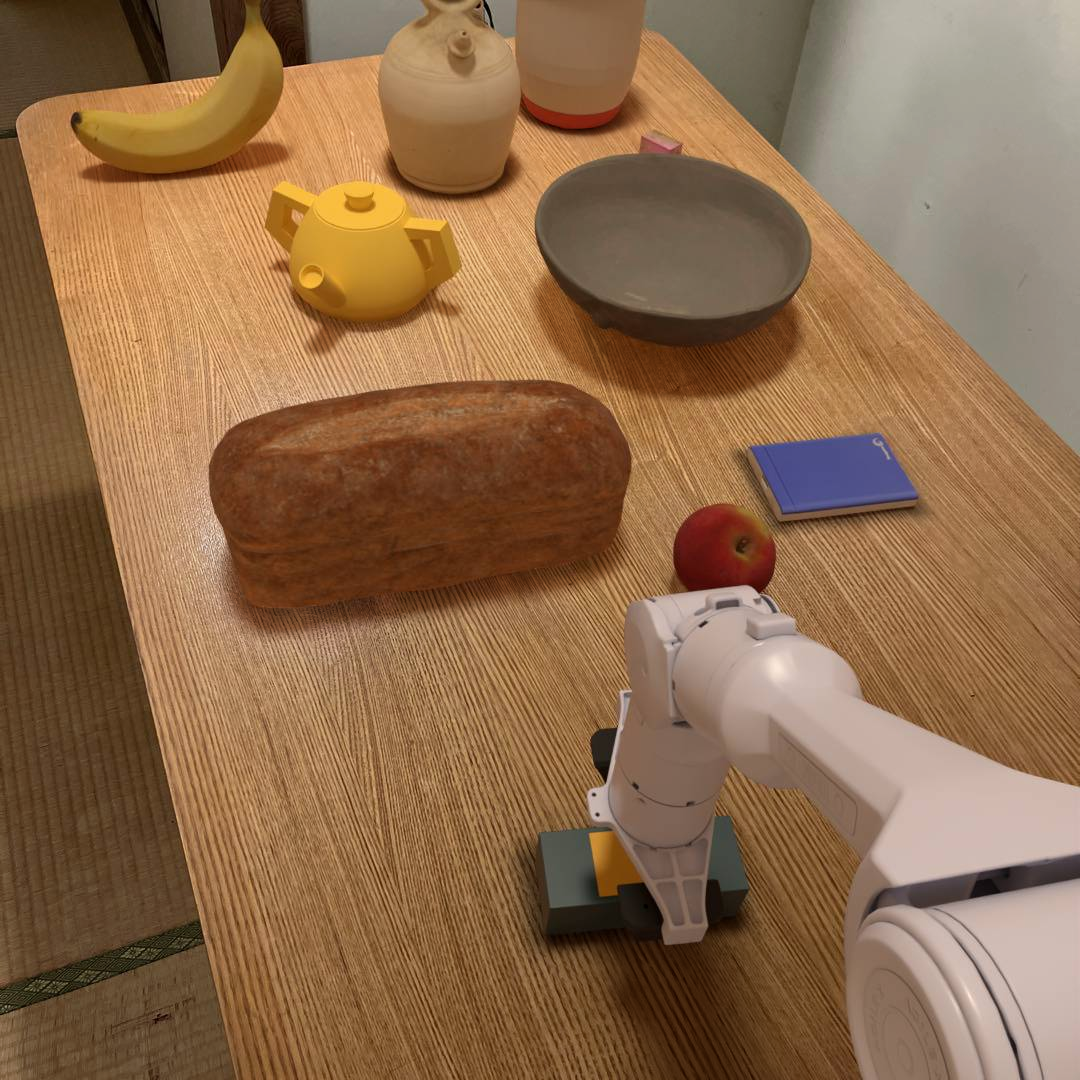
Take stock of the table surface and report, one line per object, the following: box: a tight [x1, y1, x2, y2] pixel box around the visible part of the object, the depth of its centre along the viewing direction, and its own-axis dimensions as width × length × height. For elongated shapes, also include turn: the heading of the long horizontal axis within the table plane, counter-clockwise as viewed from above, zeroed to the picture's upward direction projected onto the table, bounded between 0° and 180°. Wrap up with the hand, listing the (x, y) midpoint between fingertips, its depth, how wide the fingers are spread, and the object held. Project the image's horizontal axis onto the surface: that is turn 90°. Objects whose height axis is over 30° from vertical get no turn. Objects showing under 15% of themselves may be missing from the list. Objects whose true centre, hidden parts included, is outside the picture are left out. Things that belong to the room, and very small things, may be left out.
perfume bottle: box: [638, 129, 684, 155], centre depth 123 cm, size 12×12×4 cm
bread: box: [208, 379, 633, 609], centre depth 81 cm, size 12×31×14 cm, turn 106°
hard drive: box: [746, 432, 919, 523], centre depth 93 cm, size 2×8×12 cm
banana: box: [69, 0, 285, 174], centre depth 113 cm, size 23×6×20 cm, turn 109°
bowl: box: [534, 152, 813, 348], centre depth 105 cm, size 26×26×10 cm
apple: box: [672, 502, 777, 594], centre depth 81 cm, size 8×8×8 cm
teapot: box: [264, 180, 463, 324], centre depth 102 cm, size 20×18×11 cm
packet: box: [534, 815, 750, 936], centre depth 66 cm, size 12×5×4 cm, turn 97°
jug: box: [377, 0, 522, 196], centre depth 115 cm, size 15×16×25 cm
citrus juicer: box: [514, 0, 647, 130], centre depth 129 cm, size 16×17×20 cm
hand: (637, 872), depth 66 cm, fingers open, 7 cm apart
